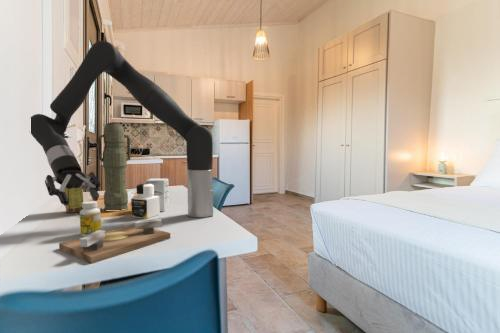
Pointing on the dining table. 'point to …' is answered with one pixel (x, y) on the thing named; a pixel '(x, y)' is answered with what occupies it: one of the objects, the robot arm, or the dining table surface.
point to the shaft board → (115, 241)
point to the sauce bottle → (74, 200)
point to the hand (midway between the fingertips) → (82, 201)
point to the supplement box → (161, 191)
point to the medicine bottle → (145, 202)
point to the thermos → (114, 166)
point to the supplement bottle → (90, 218)
